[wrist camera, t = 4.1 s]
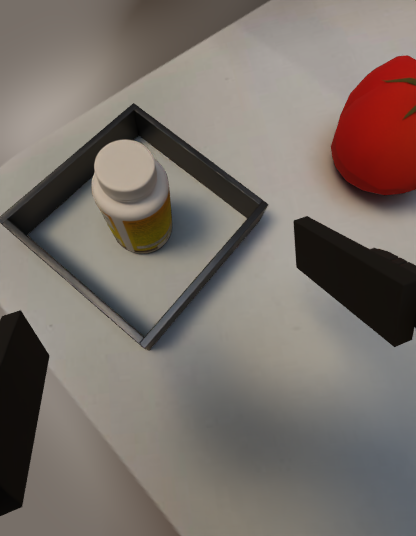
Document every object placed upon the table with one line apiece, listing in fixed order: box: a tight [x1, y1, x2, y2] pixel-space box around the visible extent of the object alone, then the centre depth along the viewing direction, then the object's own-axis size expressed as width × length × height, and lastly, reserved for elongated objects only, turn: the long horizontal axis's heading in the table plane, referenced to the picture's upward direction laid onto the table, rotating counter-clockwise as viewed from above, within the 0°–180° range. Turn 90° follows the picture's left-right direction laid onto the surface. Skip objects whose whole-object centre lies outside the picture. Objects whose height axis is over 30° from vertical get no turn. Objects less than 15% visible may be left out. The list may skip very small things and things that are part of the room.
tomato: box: [331, 56, 416, 195], centre depth 29 cm, size 12×12×11 cm
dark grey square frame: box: [0, 103, 268, 350], centre depth 29 cm, size 16×16×4 cm
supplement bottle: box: [92, 140, 172, 253], centre depth 26 cm, size 6×6×10 cm
